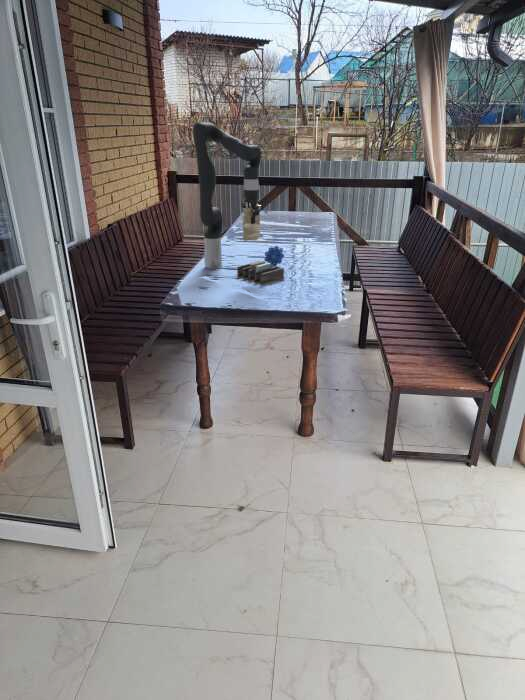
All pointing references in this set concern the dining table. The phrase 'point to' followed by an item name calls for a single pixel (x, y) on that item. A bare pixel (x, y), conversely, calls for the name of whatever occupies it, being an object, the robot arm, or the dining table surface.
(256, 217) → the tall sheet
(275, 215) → the dining table surface
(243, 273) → the rack
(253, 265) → the offcut oak
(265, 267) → the offcut grey
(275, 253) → the grapes
